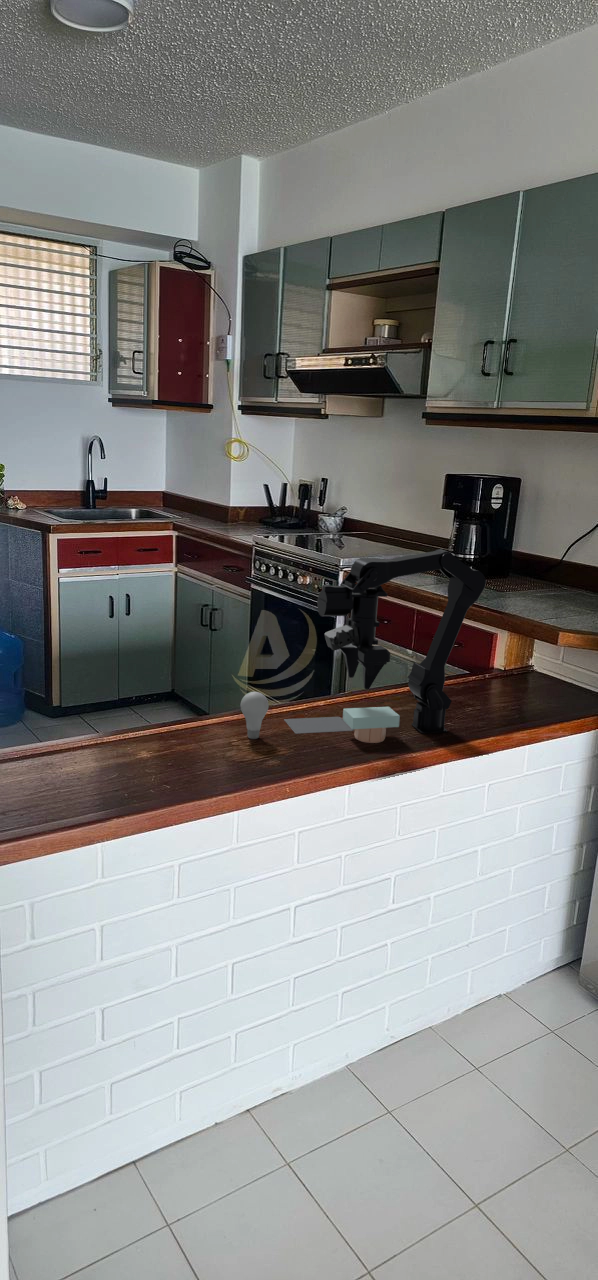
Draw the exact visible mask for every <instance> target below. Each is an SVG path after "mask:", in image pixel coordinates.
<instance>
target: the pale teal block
mask: <svg viewBox="0 0 598 1280" xmlns="http://www.w3.org/2000/svg"><path fill="white" fill-rule="evenodd" d="M400 717H401V716H400V714H398V713H397V712H396V711H395V710H393V709H392V707H390V706H377V707H375V706H374V707H373V706H371V707H347V708H343V711H342V720H344V721H345V722H346V723H347V724H348V725H349V726H350V727H351V728H352V729H353V730H355V729H368V728H386V729H387V728H399V727H400Z"/></svg>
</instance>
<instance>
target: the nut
mask: <svg viewBox="0 0 598 1280" xmlns="http://www.w3.org/2000/svg"><path fill="white" fill-rule="evenodd" d="M353 732H354V735H353V736H354V738H355V739H356V740H358V741H360V742H362V743H368V744H369V743H370V744H374V743H375V744H377V743H381V742H384V741H385V739H386V732H387V728H368V729H354V731H353Z"/></svg>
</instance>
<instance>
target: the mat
mask: <svg viewBox="0 0 598 1280" xmlns="http://www.w3.org/2000/svg"><path fill="white" fill-rule="evenodd" d="M283 722H285V723H286V724H287V725H288V726H289V728H290V729H291V730H292V731H293V733H294V734H300V735H301V734H314V733H315V734H317V733H318V734H319V733H333V732H334V733H337V732H352V731H353V732H355V729H352V728H351V727H350V726H349V725H348V724H347V723H346V722H345V721H344V720H343V718H342V717H340V716H327V717H325V716H323V717H321V716H320V717H306V718H305V717H304V718H301V717H300V718H284V719H283Z"/></svg>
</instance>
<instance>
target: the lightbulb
mask: <svg viewBox="0 0 598 1280" xmlns="http://www.w3.org/2000/svg"><path fill="white" fill-rule="evenodd" d="M269 707H270V706H269V701H268V698H267V697H266V696H265V694H263V693H261V692H259V691H251V692H248V693H246V694H244V696H243V697H242V699H241V701H240V710H241V712H242V715H243V717H244V719H245V723H246V729H247V737H248V739H251V740H256V739H259V738H260V730H261V728H262V722H263V719H264V718H265V716H266V714H267V713H268V710H269Z"/></svg>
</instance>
